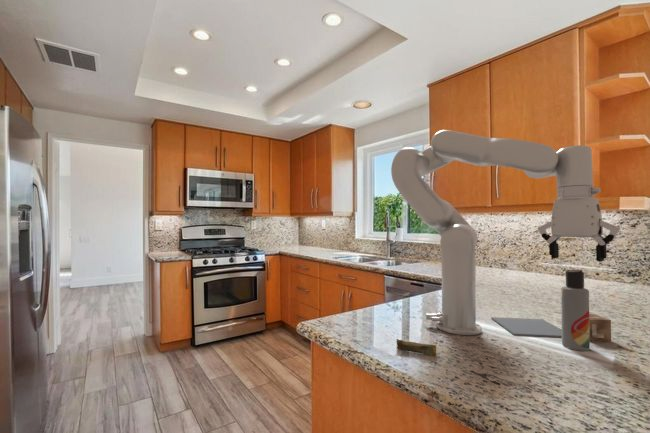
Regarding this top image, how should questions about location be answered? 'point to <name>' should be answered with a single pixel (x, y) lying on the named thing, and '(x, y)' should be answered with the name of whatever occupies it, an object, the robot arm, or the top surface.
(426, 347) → the snack bar
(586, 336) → the lotion bottle
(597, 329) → the letter cube
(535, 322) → the grey mat
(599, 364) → the top surface
